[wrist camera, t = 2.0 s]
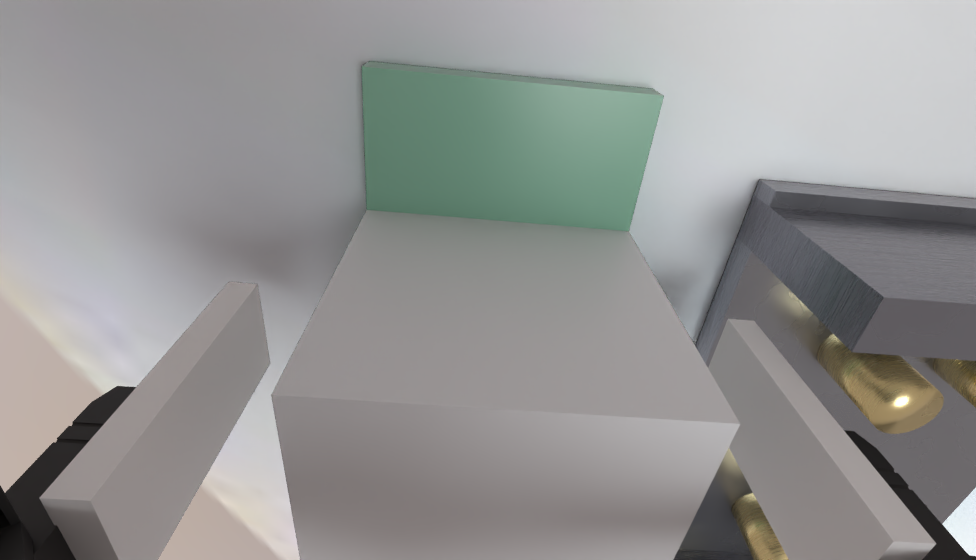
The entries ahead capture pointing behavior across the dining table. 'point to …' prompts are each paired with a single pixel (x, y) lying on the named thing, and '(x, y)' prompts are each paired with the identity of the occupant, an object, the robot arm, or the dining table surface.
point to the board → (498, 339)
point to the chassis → (855, 338)
